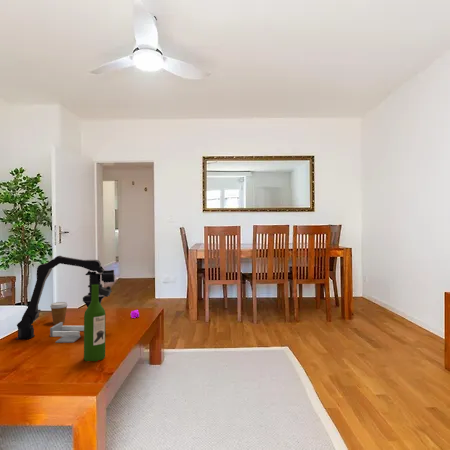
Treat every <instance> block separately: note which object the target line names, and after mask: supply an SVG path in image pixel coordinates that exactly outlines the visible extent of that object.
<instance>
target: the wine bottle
mask: <svg viewBox="0 0 450 450" xmlns="http://www.w3.org/2000/svg"><path fill="white" fill-rule="evenodd" d="M91 286H92V291H91V303H90V305H89V306H88V307H87V308H86V310H85V311H84V315H83V316H84V317H83V326H84V331H83V360H84V361H85V362H87V361H95V362H99V361H98V360H100V361H102V360H104V359H105V358H106V310H105V308H104V307H103V306H102V303H101V304H100V303H99V285H98V284H93V285H91Z"/></svg>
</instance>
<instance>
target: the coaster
mask: <svg viewBox="0 0 450 450" xmlns="http://www.w3.org/2000/svg"><path fill="white" fill-rule="evenodd" d="M81 338H82V335H80V336H63V337H60V338H59V339H57V340H56V341H55V343H56V344H57V343H59V344H60V343H62V344H63V343H67V344H69V343H75V342H76V341H77V340H79V339H81Z"/></svg>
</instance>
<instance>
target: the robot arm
mask: <svg viewBox="0 0 450 450" xmlns="http://www.w3.org/2000/svg"><path fill="white" fill-rule="evenodd" d="M60 264H61V265H67V266H72V267H73V266H75V267H81V268H83V269H86V270H88V271H87V273H85V276H88V277H89V279H88V280H89V285H87V288H89V290H88V291H89V292H87V294H86V295H84V296H83V297H82V302H83V304H85V305H86V307H87V308H88V306H89V305H90V303H91V291H92V286H91V285H93V284H98V285H99V303H100V304H101V305H102V302H103V299H104V298H106V297H110V295H111V293H112V292H113V291H112V287H111V286H109V285H108V286H106V287H104V286H103V284H102V283H101V281H102V282H103V283H115V278H116V275H115V270H114V269H110V270H106V269H104V268H103V266H102V263H101V262H100V260H98V259H81V258H80V259H79V258H73V257H69V256H67V257H66V256H62V255H57V256H56V257H54V258H53V259H50V260H49V261H47V262H44V263H42V264H39V265H38V266H37V268H36V281H35V285H34V289H33V291H32V294H31V296H30V297H31V298H30V300H29V304H28V306H27V308H26V310H25V311H24V313H23V315H22V317H21V320H20V321H19V322H17V324H16V326H17V338H15V340H22V341H23V340H31V339H32V338H33V337H35V336H36V335H35V328H34V322H35V321H36V320H37V319H38V318H39V317H40V312H41V309H39V303H40V300H41V298H42V297H41V296H42V294H43V290H44V287H45V284H46V281H47V279H48V278H49V276H50V274H51V272H52V271H53V269H54V268H56V267H57V266H58V265H60Z"/></svg>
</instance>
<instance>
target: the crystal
mask: <svg viewBox="0 0 450 450" xmlns="http://www.w3.org/2000/svg"><path fill="white" fill-rule="evenodd" d="M130 317H131V319H132V318H134V319H136V317H137V318H139V317H140V312H139V310H138V309H135V310H131V312H130Z"/></svg>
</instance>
